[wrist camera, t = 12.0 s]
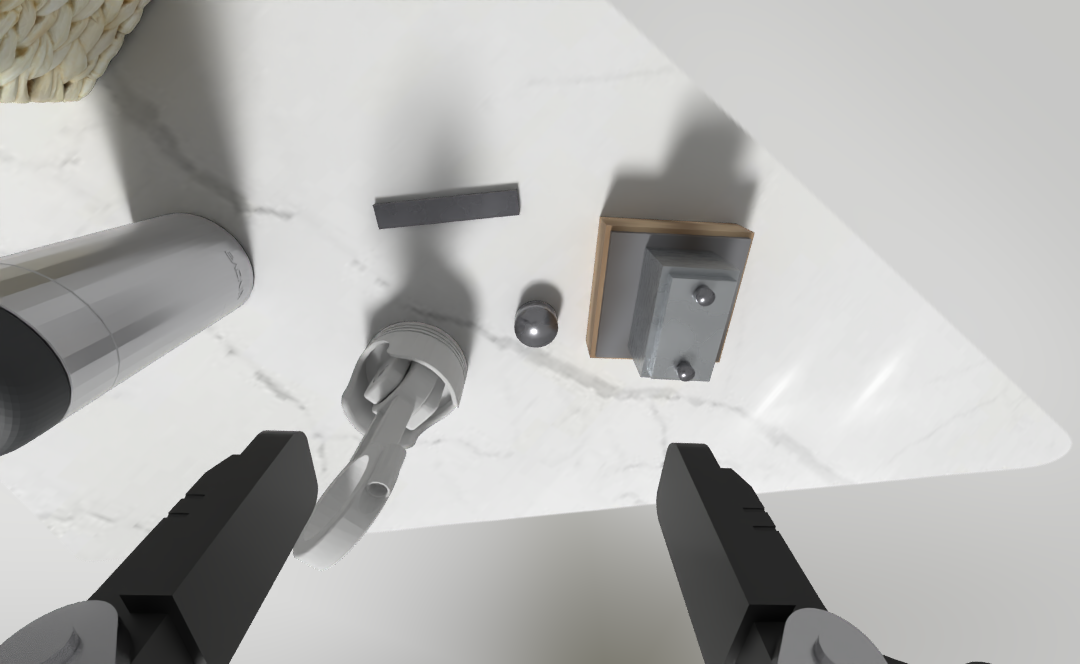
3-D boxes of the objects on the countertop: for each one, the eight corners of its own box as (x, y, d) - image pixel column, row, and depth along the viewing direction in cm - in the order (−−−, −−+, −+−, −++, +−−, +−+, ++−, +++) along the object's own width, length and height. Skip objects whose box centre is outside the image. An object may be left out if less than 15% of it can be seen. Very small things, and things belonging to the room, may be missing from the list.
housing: (645, 247, 34) (670, 274, 28) (712, 251, 34) (752, 279, 28) (627, 347, 38) (646, 389, 32) (688, 350, 38) (718, 393, 32)
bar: (382, 226, 38) (379, 229, 37) (376, 203, 37) (372, 205, 36) (519, 212, 37) (519, 214, 36) (516, 188, 36) (516, 190, 35)
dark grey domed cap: (514, 337, 42) (514, 346, 40) (515, 299, 40) (514, 307, 39) (555, 338, 42) (556, 347, 40) (557, 300, 41) (559, 308, 39)
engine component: (487, 367, 43) (409, 301, 40) (457, 548, 25) (308, 453, 22) (417, 428, 47) (340, 370, 43) (344, 627, 28) (200, 555, 25)
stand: (585, 340, 42) (591, 361, 39) (599, 216, 37) (607, 226, 33) (705, 345, 43) (721, 365, 39) (736, 223, 38) (758, 234, 34)
